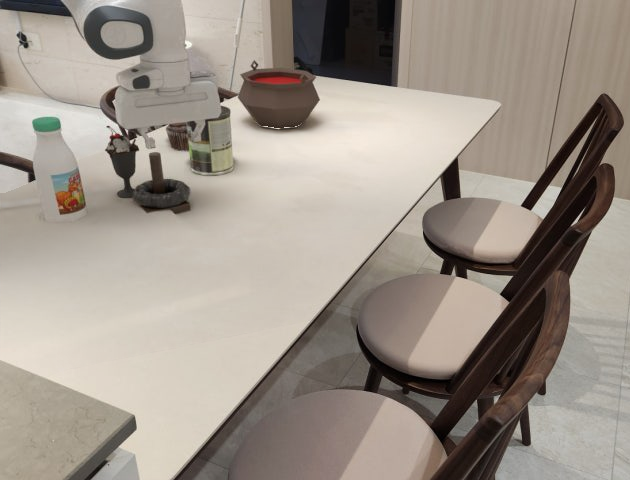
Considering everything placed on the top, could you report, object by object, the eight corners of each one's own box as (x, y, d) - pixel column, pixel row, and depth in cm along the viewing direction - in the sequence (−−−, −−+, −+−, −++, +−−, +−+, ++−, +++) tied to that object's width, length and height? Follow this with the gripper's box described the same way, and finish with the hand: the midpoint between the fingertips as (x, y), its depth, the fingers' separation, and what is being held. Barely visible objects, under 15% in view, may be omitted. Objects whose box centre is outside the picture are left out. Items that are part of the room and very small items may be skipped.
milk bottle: (45, 230, 120) (21, 126, 110) (45, 215, 126) (22, 115, 116) (89, 225, 123) (69, 123, 113) (87, 210, 129) (68, 112, 119)
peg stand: (147, 219, 127) (139, 164, 121) (132, 203, 133) (124, 150, 127) (190, 210, 131) (184, 156, 126) (174, 195, 138) (168, 144, 132)
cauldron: (336, 124, 190) (337, 67, 182) (275, 139, 175) (273, 79, 166) (283, 107, 204) (281, 54, 196) (222, 121, 188) (217, 63, 180)
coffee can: (189, 176, 148) (183, 116, 141) (191, 161, 157) (185, 104, 150) (234, 175, 150) (230, 115, 143) (233, 160, 159) (230, 103, 152)
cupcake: (197, 138, 173) (193, 101, 168) (211, 148, 166) (207, 110, 161) (162, 143, 168) (157, 105, 163) (175, 153, 161) (170, 114, 156)
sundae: (106, 193, 137) (94, 124, 130) (134, 185, 142) (124, 118, 134) (122, 202, 134) (111, 132, 126) (150, 193, 138) (141, 125, 131)
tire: (145, 214, 125) (143, 201, 124) (127, 195, 133) (125, 182, 131) (199, 203, 131) (197, 190, 130) (179, 185, 139) (177, 173, 137)
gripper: (210, 66, 129) (215, 133, 136) (107, 75, 118) (118, 147, 125) (223, 72, 124) (228, 141, 131) (117, 82, 114) (128, 156, 120)
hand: (174, 144), depth 128 cm, fingers open, 8 cm apart
